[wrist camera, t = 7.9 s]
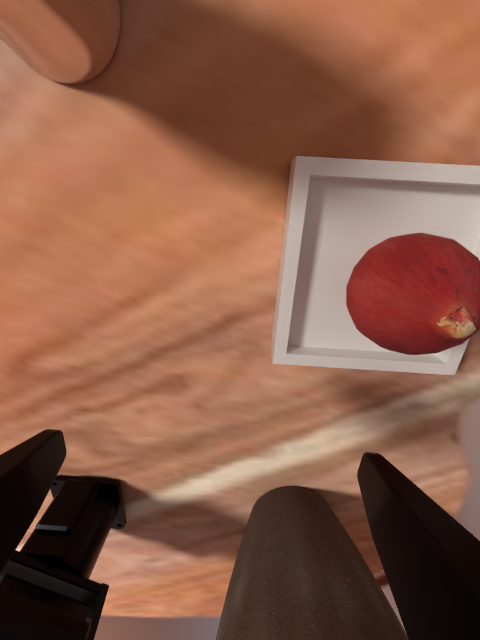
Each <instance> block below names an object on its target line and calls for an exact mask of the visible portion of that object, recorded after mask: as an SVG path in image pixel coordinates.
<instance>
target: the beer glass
mask: <svg viewBox="0 0 480 640" xmlns="http://www.w3.org/2000/svg"><path fill="white" fill-rule="evenodd" d="M120 21H121V17H120V3H119V0H0V39H1V40H2V41H3V42H4V43H5V44H6V45H7V46H9V47H10V48H11V49H12V50H13V51H14V52H15V53H16V54H17V55H18V56H19V57H20V58H21V59H22V60H23V61H24V62H25V63H27V64H28V65H29V66H30V67H31V68H33V69H34V70H35V71H37V72H38V73H40V74H41V75H43V76H45V77H47V78H49V79H51V80H54V81H57V82H61V83H66V84H78V83H83V82H86V81H89V80H91V79H93V78H94V77H96V76H97V75H99V74H100V73H101V72H102V71H103V70H104V69H105V68H106V66H107V65H108V63H109V62H110V60H111V58H112V57H113V54H114V52H115V49H116V46H117V43H118V39H119V33H120Z"/></svg>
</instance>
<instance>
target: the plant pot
mask: <svg viewBox="0 0 480 640" xmlns="http://www.w3.org/2000/svg"><path fill="white" fill-rule="evenodd" d="M216 640H409V639H408V636H407V634H406V633H405V631H404V629H403V627H402V625H401V623H400V622H399V620H398V618H397V616H396V614H395V612H394V611H393V609H392V608H391V605H390V604H389V602H388V600H387V598H386V596H385V595H384V593H383V591H382V589H381V588H380V586H379V584H378V582H377V581H376V579H375V577H374V575H373V574H372V572H371V570H370V569H369V567H368V565H367V564H366V562H365V560H364V559H363V557H362V555H361V554H360V552H359V551H358V549H357V547H356V546H355V544H354V543H353V541H352V539H351V538H350V536H349V535H348V533H347V532H346V530H345V529H344V527H343V526H342V524H341V523H340V521H339V520H338V518H337V517H336V515H335V514H334V512H333V511H332V510H331V508H330V507H329V505H328V504H327V503H326V501H325V500H324V499H323V498H322V497H321V496H320V495H319V494H317V493H316V492H314V491H311V490H309V489H306V488H302V487H283V488H278V489H274V490H271V491H269V492H267V493H266V494H264V495H262V496H261V497H260V498H259V499H258V500H257V501H256V503H255V504H254V506H253V509H252V512H251V515H250V517H249V520H248V523H247V526H246V529H245V532H244V535H243V538H242V542H241V545H240V548H239V551H238V555H237V558H236V561H235V565H234V569H233V572H232V576H231V579H230V583H229V587H228V591H227V595H226V599H225V603H224V607H223V611H222V615H221V620H220V624H219V628H218V633H217V637H216Z"/></svg>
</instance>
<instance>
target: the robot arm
mask: <svg viewBox="0 0 480 640" xmlns="http://www.w3.org/2000/svg"><path fill="white" fill-rule="evenodd" d="M65 457H66V446H65V441H64V436H63V433H62V431H60V430H52V429H47V430H44V431H42V432H40V433H39V434H37V435H35V436H33V437H31V438H30V439H28V440H26V441H24V442H23V443H21V444H19V445H17V446H15V447H14V448H12V449H10V450H8V451H7V452H5V453H3V454H1V455H0V640H94V637H95V633H96V630H97V626H98V623H99V619H100V616H101V612H102V609H103V605H104V602H105V598H106V595H107V591H108V588H109V585H107V584H104V583H102V584H100V583H97V582H95V581H92V580H90V579H89V577H90V575H91V573H92V570H93V568H94V566H95V563H96V561H97V559H98V556H99V554H100V552H101V550H102V547H103V545H104V543H105V540H106V538H107V536H108V533H109V531H110V529H111V528H117V529H122V528H124V527H125V524H126V517H125V511H124V505H123V499H122V493H121V487H120V483H119V482H118V481H116V480H104V479H89V478H75V477H60V476H57V474H58V472H59V470H60V468H61V466H62V464H63V462H64V460H65ZM357 477H358V482H359V486H360V490H361V494H362V498H363V502H364V506H365V510H366V514H367V518H368V522H369V526H370V529H371V533H372V537H373V540H374V543H375V546H376V549H377V552H378V554H379V557H380V560H381V563H382V566H383V569H384V571H385V574H386V577H387V580H388V583H389V586H390V588H391V591H392V593H393V597H394V600H395V602H396V605H397V608H398V611H399V614H400V617H401V619H402V622H403V625H404V628H405V631H406V633H407V636H408V639H409V640H480V541H479V540H478V539H477V538H476V537H474V536H473V535H472V534H471V533H470V532H469V531H467V530H466V529H465V528H464V527H463V526H462V525H461V524H460V523H458V522H457V521H456V520H455V519H454V518H453V517H452V516H450V515H449V514H448V513H447V512H446V511H445V510H444V509H442V508H441V507H440V506H439V505H438V504H437V503H436V502H434V501H433V500H432V499H431V498H430V497H429V496H428V495H426V494H425V493H424V492H423V491H422V490H421V489H420V488H418V487H417V486H416V485H415V484H414V483H413V482H412V481H410V480H409V479H408V478H407V477H406V476H405V475H404V474H402V473H401V472H400V471H399V470H398V469H397V468H396V467H394V466H393V465H392V464H391V463H390V462H389V461H388V460H386V459H385V458H384V457H383V456H382V455H380V454H379V453H372V452H365V453H364V454H363V456H362V459H361V463H360V466H359V469H358V474H357ZM50 489H51V492H52V495H53V498H54V499H53V501H52V502H51V504H50V505H49V507H48V508H47V510H46V511H45V513H44V514H43V516H42V517H41V519H40V520H39V522H38V523H37V525H36V528H35V529H34V531H33V532H32V534H31V535H30V537H29V538H28V540H27V541H26V543H25V544H24V546H23V547H22V549H21V550H20V552H18V551H16V550H15V549H16V548H17V546H18V545H19V543H20V541H21V540H22V538H23V536H24V535H25V533H26V532H27V530H28V528H29V527H30V525H31V523H32V522H33V520H34V518H35V517H36V515H37V513H38V511H39V509H40V507H41V506H42V504H43V502H44V500H45V498H46V496H47V494H48V492H49V490H50Z"/></svg>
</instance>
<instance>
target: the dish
mask: <svg viewBox="0 0 480 640" xmlns="http://www.w3.org/2000/svg"><path fill="white" fill-rule="evenodd" d="M413 233H426V234H431V235H436V236H441V237H445V238H450V239H454V240H455V241H457V242H458V243H460V244H461V245H462V246H464V247H465V248H466V249H467V250H469V251H470V252H471V253H473V254H474V255H475V256H476V257H478V259H479V260H480V166H471V165H453V164H435V163H416V162H398V161H380V160H362V159H344V158H326V157H308V156H296V157H295V158H294V159H293V160H292V161H291V167H290V176H289V185H288V194H287V203H286V213H285V222H284V231H283V240H282V249H281V259H280V268H279V277H278V286H277V295H276V305H275V314H274V323H273V332H272V341H271V355H272V362H273V364H286V365H302V366H317V367H333V368H349V369H364V370H380V371H396V372H411V373H427V374H442V375H455V373H456V371H457V368H458V366H459V363H460V361H461V359H462V356H463V354H464V351H465V349H466V347H467V344H468V342H469V339H470V338H469V339H468V340H466V341H465V342H464V343H463V344H461V345H458V346H455V347H452V348H450V349H447V350H444V351H441V352H438V353H434V354H422V355H407V354H403V353H399V352H394V351H390V350H387V349H384V348H382V347H380V346H378V345H377V344H375V343H374V342H372V341H371V340H370V339H368V338H367V337H365V336H364V335H363V334H361V333H360V332H359V331H358V330H357V329H356V327H355V325H354V323H353V320H352V318H351V316H350V314H349V312H348V309H347V306H346V286H347V284H348V281H349V279H350V276H351V273H352V271H353V268H354V266H355V265H356V264H357V263H358V262H359V260H360V259H361V258H362V257H363V256H364V254H365V253H366V252H367V251H368V250H369V249H370V248H372V247H374V246H375V245H377V244H379V243H381V242H382V241H384V240H386V239H388V238H390V237H395V236H401V235H406V234H413Z"/></svg>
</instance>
